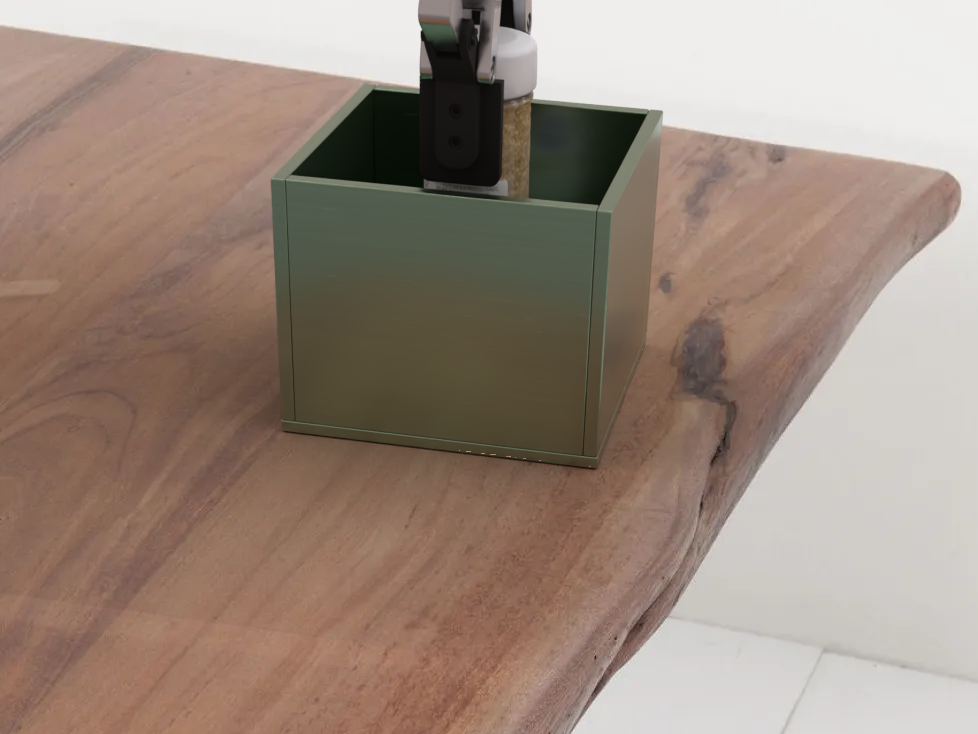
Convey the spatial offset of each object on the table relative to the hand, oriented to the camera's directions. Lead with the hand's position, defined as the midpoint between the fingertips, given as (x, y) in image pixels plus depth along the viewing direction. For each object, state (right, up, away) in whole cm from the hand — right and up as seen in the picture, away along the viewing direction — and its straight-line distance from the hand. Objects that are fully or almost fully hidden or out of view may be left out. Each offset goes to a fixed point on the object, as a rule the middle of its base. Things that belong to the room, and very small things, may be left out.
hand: (475, 156), depth 76 cm
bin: (0, -8, +6) cm, 10 cm away
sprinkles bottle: (0, -7, +5) cm, 9 cm away
